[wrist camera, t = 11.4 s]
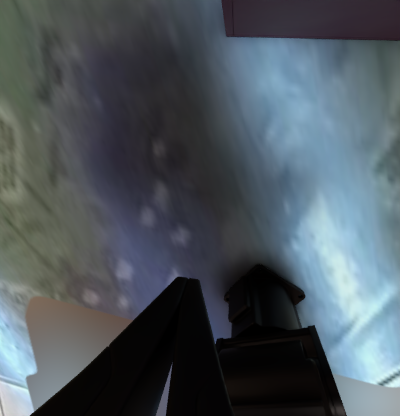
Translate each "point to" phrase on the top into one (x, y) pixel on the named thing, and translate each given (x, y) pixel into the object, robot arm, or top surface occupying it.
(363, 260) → the top surface
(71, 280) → the top surface
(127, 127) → the top surface
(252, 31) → the file box
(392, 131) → the top surface
